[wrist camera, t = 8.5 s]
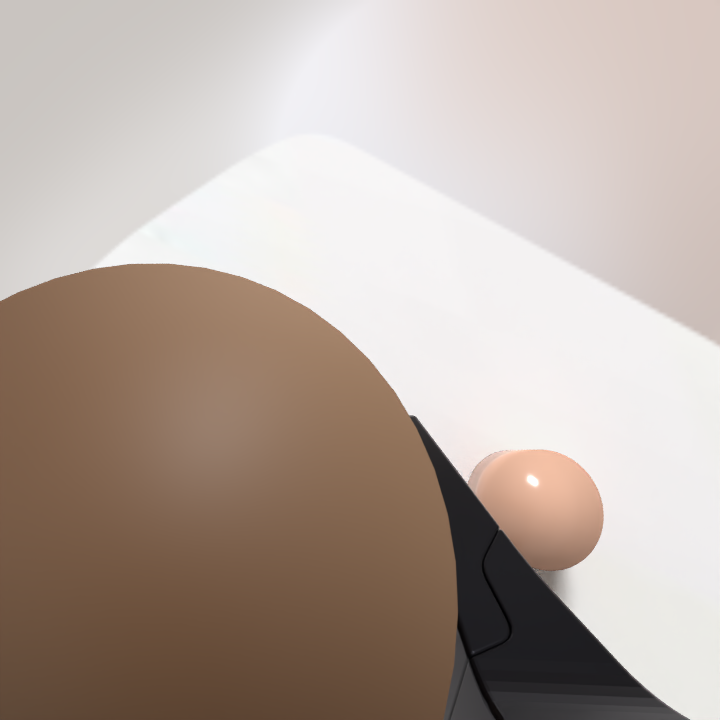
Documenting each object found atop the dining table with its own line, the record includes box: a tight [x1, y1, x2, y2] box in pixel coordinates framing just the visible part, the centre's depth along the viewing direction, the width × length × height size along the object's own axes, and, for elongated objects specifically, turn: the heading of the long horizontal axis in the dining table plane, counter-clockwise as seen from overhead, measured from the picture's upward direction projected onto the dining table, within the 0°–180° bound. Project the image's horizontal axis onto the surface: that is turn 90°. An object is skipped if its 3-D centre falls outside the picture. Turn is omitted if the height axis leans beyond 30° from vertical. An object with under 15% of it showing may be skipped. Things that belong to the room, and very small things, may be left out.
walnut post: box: [0, 264, 458, 720], centre depth 9 cm, size 5×5×13 cm
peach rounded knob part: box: [468, 450, 603, 571], centre depth 20 cm, size 5×5×4 cm
